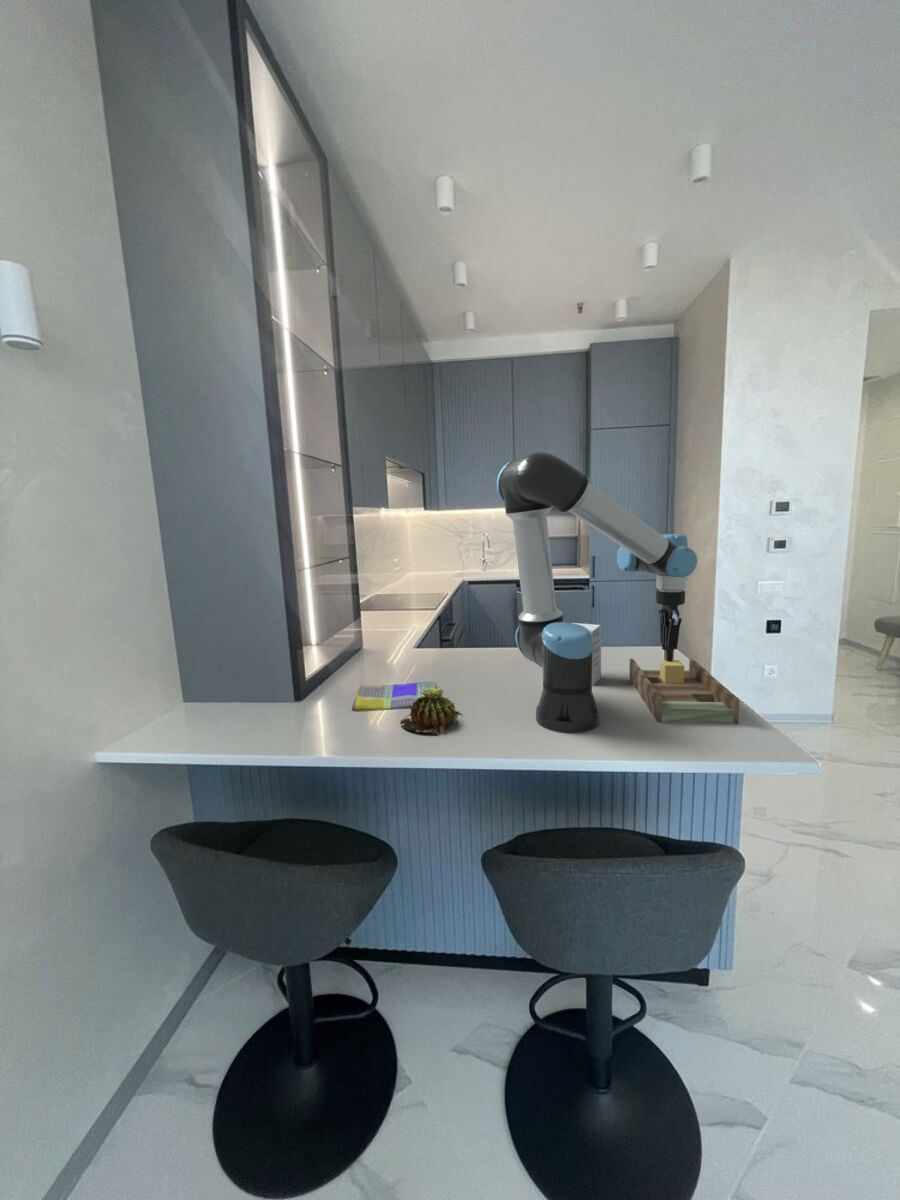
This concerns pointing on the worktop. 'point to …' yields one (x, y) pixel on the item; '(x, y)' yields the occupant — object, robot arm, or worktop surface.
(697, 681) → the tray
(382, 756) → the worktop surface
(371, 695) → the dish towel
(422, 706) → the cactus
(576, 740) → the worktop surface
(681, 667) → the block
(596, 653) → the supplement box
